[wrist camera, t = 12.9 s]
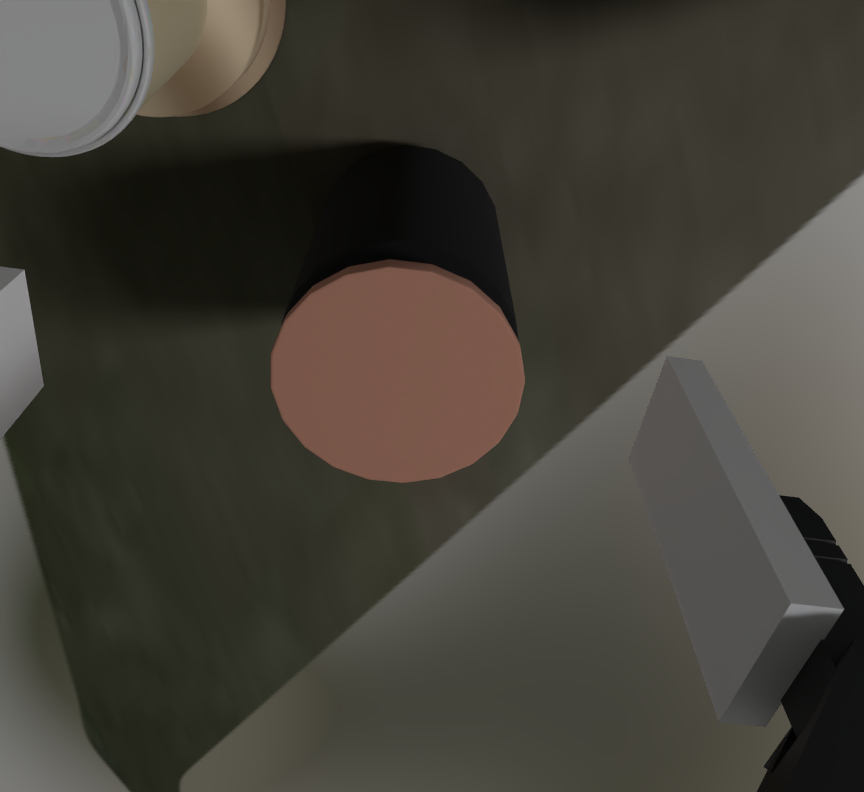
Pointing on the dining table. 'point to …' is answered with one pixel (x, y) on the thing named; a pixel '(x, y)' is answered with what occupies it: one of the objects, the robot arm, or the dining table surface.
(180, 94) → the pedestal
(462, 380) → the coffee jar
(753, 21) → the dining table surface
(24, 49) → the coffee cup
